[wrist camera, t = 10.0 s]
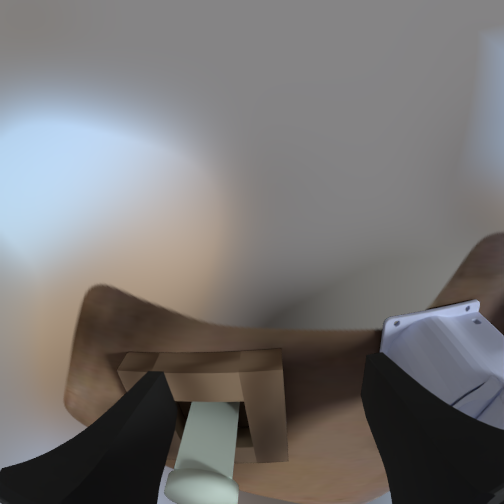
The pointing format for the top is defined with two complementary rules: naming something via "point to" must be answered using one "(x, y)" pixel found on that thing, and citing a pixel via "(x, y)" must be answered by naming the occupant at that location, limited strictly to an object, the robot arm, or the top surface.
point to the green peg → (206, 456)
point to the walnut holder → (224, 393)
